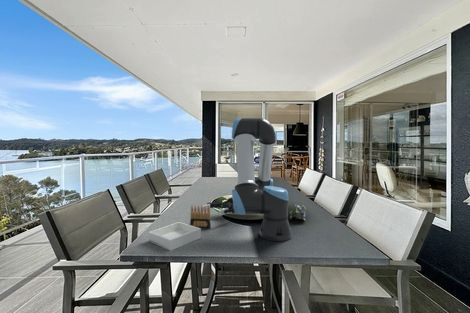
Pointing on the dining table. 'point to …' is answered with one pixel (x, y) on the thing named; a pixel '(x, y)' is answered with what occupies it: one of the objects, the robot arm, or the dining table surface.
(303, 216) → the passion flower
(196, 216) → the ammunition clip
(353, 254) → the dining table surface
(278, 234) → the robot arm
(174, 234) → the tray
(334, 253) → the dining table surface
